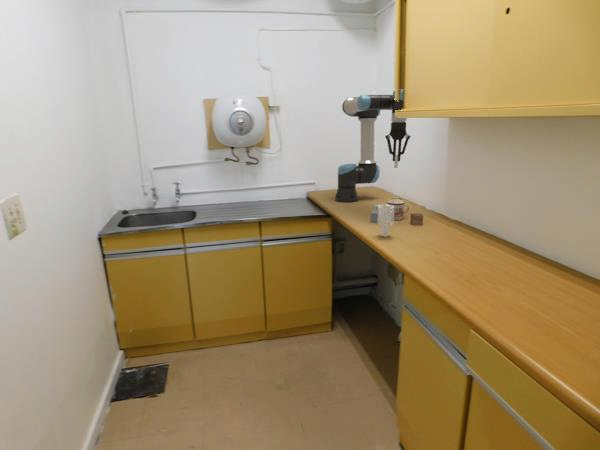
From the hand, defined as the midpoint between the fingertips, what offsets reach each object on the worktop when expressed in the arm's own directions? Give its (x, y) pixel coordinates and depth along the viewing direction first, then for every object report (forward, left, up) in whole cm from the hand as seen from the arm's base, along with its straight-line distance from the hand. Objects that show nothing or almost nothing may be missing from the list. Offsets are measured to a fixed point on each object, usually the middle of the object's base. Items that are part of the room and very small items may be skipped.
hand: (395, 167), depth 199 cm
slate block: (+15, -7, -27) cm, 31 cm away
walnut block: (+14, +13, -27) cm, 33 cm away
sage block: (-1, -8, -27) cm, 28 cm away
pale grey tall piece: (+39, 0, -27) cm, 47 cm away
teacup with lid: (+5, +3, -27) cm, 27 cm away
